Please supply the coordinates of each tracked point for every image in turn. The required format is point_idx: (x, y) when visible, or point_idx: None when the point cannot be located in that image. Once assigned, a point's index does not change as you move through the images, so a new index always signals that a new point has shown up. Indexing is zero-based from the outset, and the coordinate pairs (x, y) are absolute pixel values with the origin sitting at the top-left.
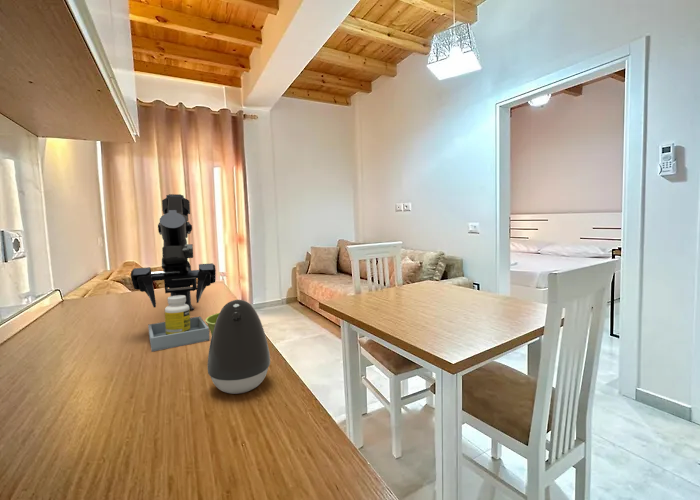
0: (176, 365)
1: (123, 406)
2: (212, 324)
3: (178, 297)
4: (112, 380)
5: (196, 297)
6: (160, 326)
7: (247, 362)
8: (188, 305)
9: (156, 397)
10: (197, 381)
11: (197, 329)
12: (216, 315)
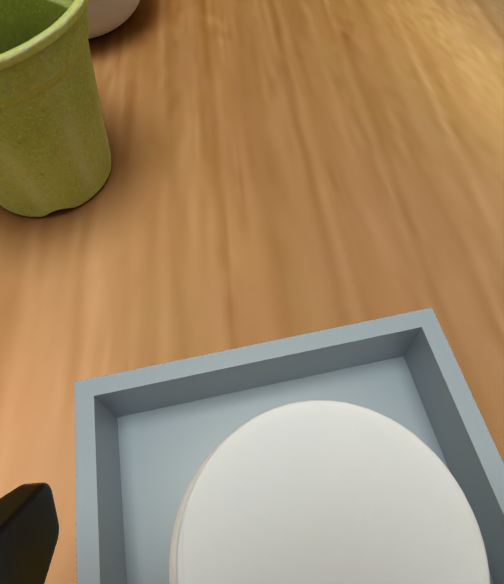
0: (258, 163)
1: (350, 10)
2: None
3: (290, 478)
4: (450, 124)
5: (19, 510)
6: None
7: None
8: (173, 579)
9: (283, 22)
10: (186, 58)
11: (151, 382)
12: (7, 59)
